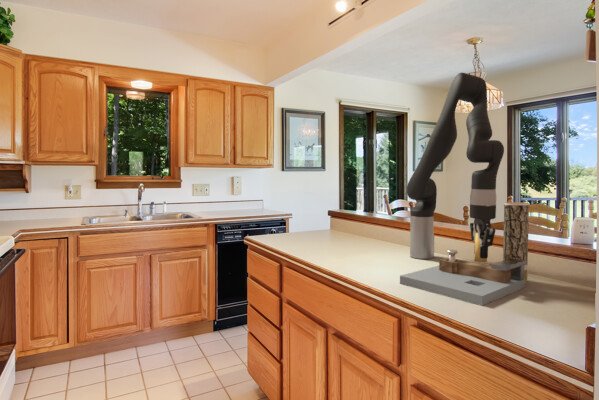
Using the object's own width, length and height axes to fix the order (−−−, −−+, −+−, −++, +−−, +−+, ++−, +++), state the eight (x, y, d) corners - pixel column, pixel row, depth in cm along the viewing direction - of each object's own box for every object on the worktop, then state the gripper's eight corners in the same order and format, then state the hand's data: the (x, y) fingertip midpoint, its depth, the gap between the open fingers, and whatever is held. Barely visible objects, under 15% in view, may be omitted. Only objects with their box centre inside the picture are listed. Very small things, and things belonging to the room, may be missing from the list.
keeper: (509, 284, 114) (510, 258, 113) (523, 287, 111) (524, 260, 110) (490, 292, 107) (491, 264, 106) (504, 295, 103) (505, 266, 103)
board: (445, 270, 132) (445, 263, 132) (524, 287, 111) (525, 278, 111) (399, 283, 116) (399, 275, 116) (482, 305, 96) (482, 296, 95)
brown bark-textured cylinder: (518, 284, 114) (520, 204, 112) (497, 279, 120) (499, 202, 118) (531, 281, 117) (533, 203, 115) (510, 276, 123) (512, 202, 121)
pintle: (449, 276, 124) (450, 249, 123) (458, 278, 121) (459, 250, 121) (444, 278, 122) (445, 250, 121) (453, 280, 119) (454, 251, 119)
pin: (478, 259, 121) (479, 231, 121) (489, 261, 118) (490, 233, 118) (472, 260, 119) (473, 232, 118) (483, 262, 116) (484, 234, 116)
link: (438, 270, 122) (438, 260, 122) (448, 267, 126) (448, 257, 126) (502, 284, 106) (503, 272, 105) (512, 280, 109) (512, 268, 109)
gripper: (462, 201, 125) (460, 251, 126) (480, 205, 111) (478, 261, 112) (485, 201, 124) (483, 252, 125) (505, 205, 110) (503, 262, 111)
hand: (480, 256), depth 119 cm, fingers closed on pin, 3 cm apart
